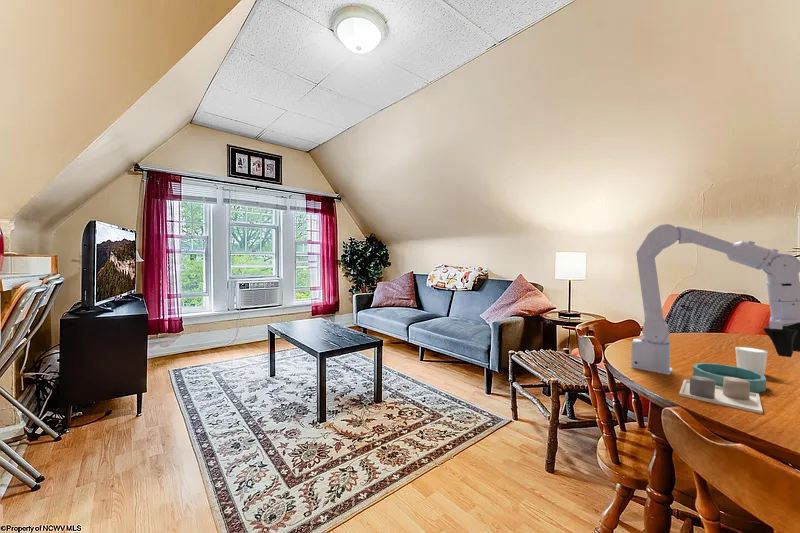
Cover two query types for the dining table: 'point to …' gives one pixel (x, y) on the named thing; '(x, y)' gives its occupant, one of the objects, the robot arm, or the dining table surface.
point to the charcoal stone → (702, 387)
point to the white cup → (751, 359)
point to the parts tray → (726, 399)
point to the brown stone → (736, 388)
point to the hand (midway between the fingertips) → (791, 353)
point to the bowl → (730, 375)
